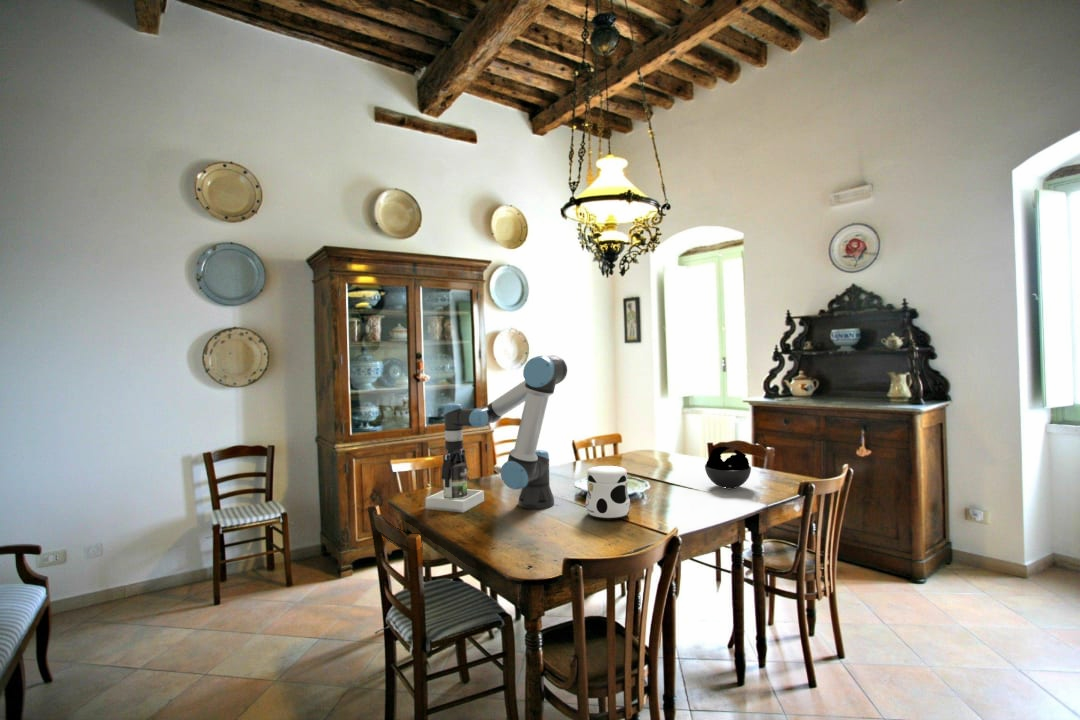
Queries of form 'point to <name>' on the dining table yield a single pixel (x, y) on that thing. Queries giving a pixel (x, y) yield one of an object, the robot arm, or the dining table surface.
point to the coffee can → (457, 481)
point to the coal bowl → (727, 468)
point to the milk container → (607, 492)
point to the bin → (455, 501)
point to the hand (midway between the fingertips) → (455, 491)
